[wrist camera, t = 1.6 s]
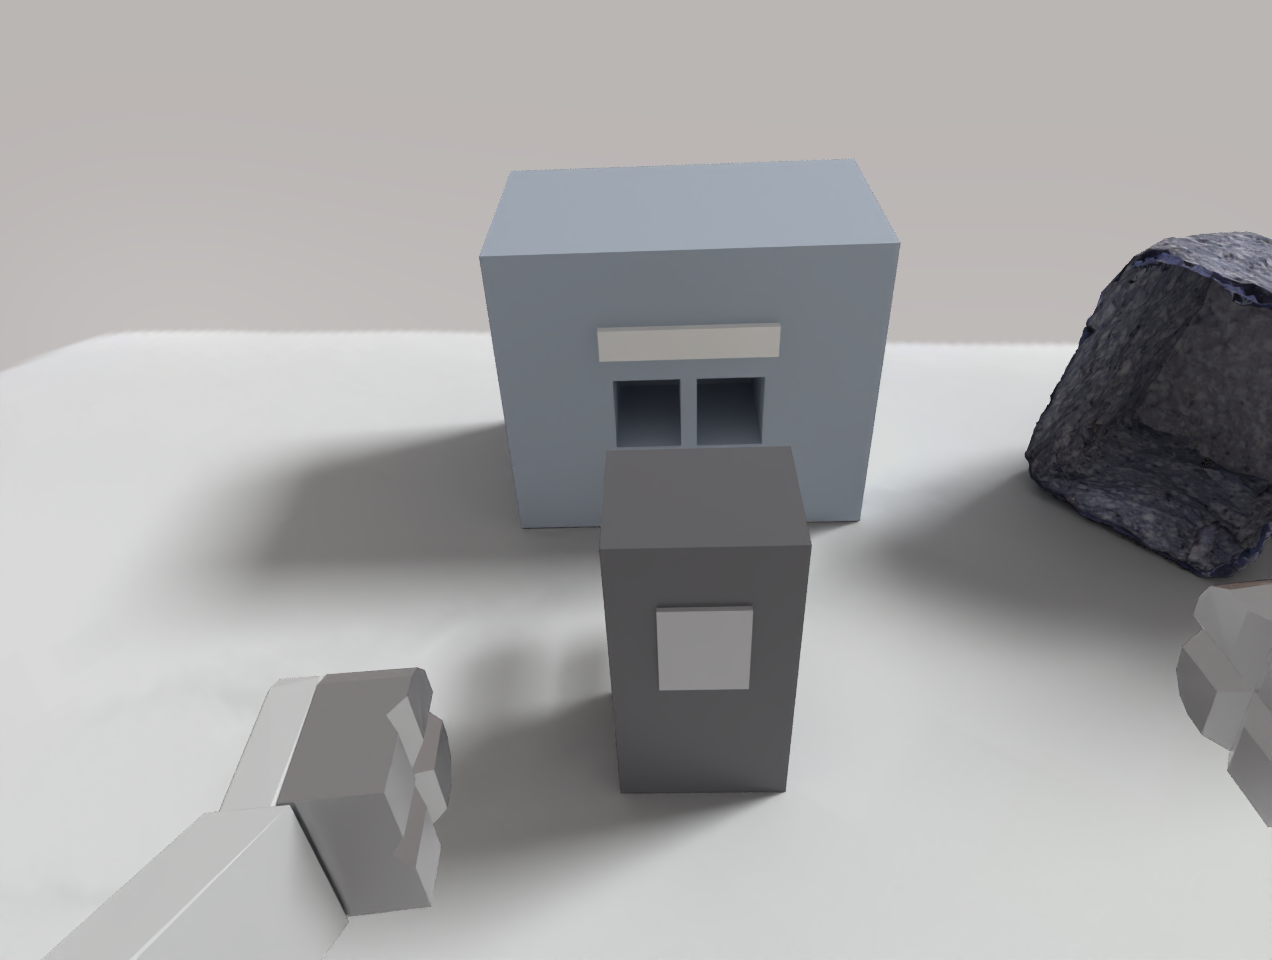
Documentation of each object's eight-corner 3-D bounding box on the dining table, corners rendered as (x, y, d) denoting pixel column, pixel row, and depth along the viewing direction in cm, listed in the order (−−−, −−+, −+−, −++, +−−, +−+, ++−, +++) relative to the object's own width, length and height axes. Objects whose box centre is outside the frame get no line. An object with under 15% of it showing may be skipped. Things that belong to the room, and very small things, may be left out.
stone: (1161, 640, 33) (962, 458, 38) (1251, 557, 39) (1070, 408, 44) (1453, 406, 25) (1158, 210, 30) (1511, 346, 31) (1258, 190, 36)
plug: (620, 797, 27) (599, 553, 21) (626, 604, 34) (611, 374, 28) (785, 795, 27) (812, 549, 21) (760, 601, 33) (774, 370, 27)
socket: (520, 532, 37) (477, 260, 30) (541, 415, 44) (510, 171, 37) (861, 525, 37) (902, 246, 29) (827, 407, 44) (854, 158, 36)
